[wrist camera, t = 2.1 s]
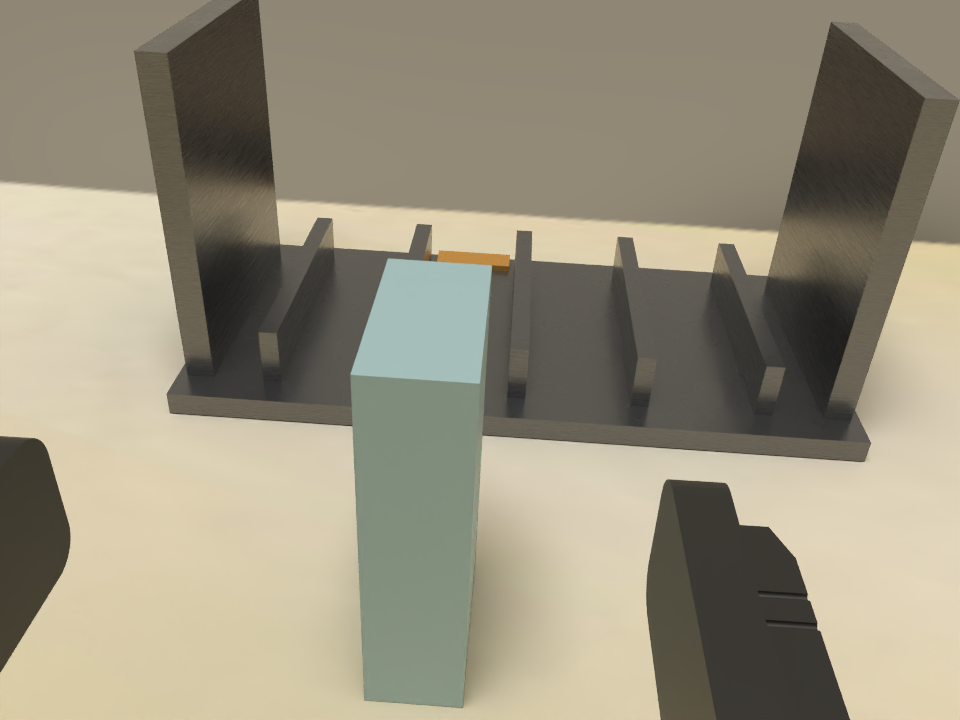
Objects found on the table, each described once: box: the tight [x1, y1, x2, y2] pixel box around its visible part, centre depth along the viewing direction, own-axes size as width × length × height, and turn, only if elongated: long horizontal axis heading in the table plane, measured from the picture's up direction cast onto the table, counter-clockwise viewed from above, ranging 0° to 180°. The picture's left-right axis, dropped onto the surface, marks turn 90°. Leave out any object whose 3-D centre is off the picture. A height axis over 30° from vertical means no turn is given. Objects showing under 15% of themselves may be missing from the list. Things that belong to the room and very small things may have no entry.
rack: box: [134, 0, 960, 461], centre depth 41 cm, size 30×15×15 cm, turn 87°
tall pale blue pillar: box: [350, 258, 492, 708], centre depth 26 cm, size 3×6×12 cm, turn 177°
